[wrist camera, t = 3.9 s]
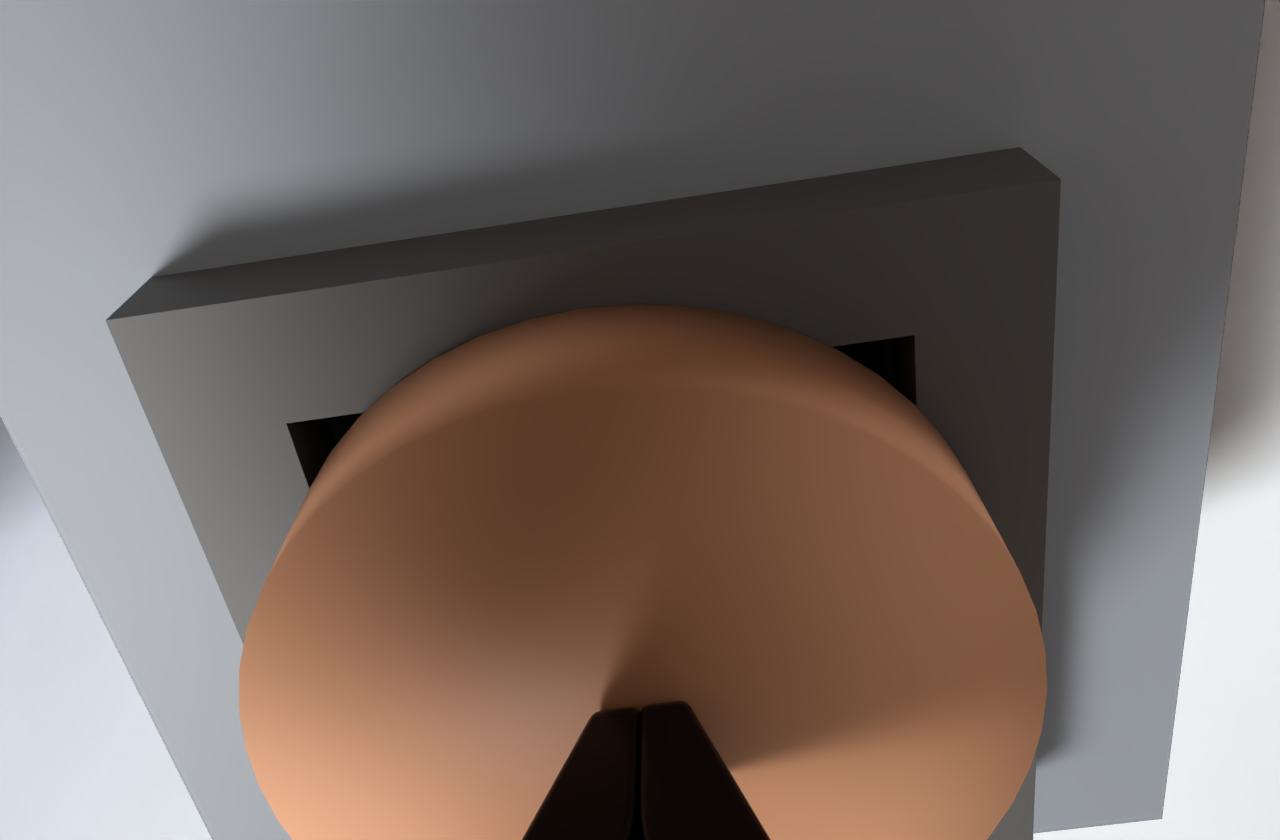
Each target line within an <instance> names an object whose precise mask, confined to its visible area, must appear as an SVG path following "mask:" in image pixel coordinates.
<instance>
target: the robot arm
mask: <svg viewBox="0 0 1280 840" xmlns="http://www.w3.org/2000/svg"><path fill="white" fill-rule="evenodd" d="M522 840H771V839H770V838H769V836H768V834H767V833H766V831H765V829H764V828H763V826H762V824H761V823H760V821H759V819H758V818H757V816H756V814H755V813H754V811H753V809H752V808H751V806H750V804H749V803H748V801H747V799H746V798H745V796H744V794H743V793H742V791H741V789H740V788H739V786H738V784H737V783H736V781H735V779H734V778H733V776H732V774H731V773H730V771H729V769H728V768H727V766H726V764H725V763H724V761H723V759H722V758H721V756H720V754H719V753H718V751H717V749H716V748H715V746H714V744H713V743H712V741H711V739H710V738H709V736H708V734H707V733H706V731H705V729H704V728H703V726H702V724H701V723H700V721H699V719H698V718H697V716H696V714H695V713H694V711H693V709H692V708H691V706H690V705H689V704H688V703H687V702H685V701H674V702H666V703H658V704H649V705H646V706H645V707H644V708H643V710H642V712H640V711H639V710H638V709H637V708H635V707H625V708H617V709H609V710H601V711H597V712H595V713H594V714H593V715H592V716H591V717H590V719H589V720H588V722H587V724H586V726H585V728H584V729H583V731H582V733H581V735H580V736H579V738H578V740H577V742H576V744H575V745H574V747H573V749H572V751H571V753H570V754H569V756H568V758H567V760H566V761H565V763H564V765H563V767H562V769H561V770H560V772H559V774H558V776H557V778H556V779H555V781H554V783H553V785H552V786H551V788H550V790H549V792H548V794H547V795H546V797H545V799H544V801H543V803H542V804H541V806H540V808H539V810H538V811H537V813H536V815H535V817H534V819H533V820H532V822H531V824H530V826H529V828H528V829H527V831H526V833H525V835H524V836H523V838H522Z"/></svg>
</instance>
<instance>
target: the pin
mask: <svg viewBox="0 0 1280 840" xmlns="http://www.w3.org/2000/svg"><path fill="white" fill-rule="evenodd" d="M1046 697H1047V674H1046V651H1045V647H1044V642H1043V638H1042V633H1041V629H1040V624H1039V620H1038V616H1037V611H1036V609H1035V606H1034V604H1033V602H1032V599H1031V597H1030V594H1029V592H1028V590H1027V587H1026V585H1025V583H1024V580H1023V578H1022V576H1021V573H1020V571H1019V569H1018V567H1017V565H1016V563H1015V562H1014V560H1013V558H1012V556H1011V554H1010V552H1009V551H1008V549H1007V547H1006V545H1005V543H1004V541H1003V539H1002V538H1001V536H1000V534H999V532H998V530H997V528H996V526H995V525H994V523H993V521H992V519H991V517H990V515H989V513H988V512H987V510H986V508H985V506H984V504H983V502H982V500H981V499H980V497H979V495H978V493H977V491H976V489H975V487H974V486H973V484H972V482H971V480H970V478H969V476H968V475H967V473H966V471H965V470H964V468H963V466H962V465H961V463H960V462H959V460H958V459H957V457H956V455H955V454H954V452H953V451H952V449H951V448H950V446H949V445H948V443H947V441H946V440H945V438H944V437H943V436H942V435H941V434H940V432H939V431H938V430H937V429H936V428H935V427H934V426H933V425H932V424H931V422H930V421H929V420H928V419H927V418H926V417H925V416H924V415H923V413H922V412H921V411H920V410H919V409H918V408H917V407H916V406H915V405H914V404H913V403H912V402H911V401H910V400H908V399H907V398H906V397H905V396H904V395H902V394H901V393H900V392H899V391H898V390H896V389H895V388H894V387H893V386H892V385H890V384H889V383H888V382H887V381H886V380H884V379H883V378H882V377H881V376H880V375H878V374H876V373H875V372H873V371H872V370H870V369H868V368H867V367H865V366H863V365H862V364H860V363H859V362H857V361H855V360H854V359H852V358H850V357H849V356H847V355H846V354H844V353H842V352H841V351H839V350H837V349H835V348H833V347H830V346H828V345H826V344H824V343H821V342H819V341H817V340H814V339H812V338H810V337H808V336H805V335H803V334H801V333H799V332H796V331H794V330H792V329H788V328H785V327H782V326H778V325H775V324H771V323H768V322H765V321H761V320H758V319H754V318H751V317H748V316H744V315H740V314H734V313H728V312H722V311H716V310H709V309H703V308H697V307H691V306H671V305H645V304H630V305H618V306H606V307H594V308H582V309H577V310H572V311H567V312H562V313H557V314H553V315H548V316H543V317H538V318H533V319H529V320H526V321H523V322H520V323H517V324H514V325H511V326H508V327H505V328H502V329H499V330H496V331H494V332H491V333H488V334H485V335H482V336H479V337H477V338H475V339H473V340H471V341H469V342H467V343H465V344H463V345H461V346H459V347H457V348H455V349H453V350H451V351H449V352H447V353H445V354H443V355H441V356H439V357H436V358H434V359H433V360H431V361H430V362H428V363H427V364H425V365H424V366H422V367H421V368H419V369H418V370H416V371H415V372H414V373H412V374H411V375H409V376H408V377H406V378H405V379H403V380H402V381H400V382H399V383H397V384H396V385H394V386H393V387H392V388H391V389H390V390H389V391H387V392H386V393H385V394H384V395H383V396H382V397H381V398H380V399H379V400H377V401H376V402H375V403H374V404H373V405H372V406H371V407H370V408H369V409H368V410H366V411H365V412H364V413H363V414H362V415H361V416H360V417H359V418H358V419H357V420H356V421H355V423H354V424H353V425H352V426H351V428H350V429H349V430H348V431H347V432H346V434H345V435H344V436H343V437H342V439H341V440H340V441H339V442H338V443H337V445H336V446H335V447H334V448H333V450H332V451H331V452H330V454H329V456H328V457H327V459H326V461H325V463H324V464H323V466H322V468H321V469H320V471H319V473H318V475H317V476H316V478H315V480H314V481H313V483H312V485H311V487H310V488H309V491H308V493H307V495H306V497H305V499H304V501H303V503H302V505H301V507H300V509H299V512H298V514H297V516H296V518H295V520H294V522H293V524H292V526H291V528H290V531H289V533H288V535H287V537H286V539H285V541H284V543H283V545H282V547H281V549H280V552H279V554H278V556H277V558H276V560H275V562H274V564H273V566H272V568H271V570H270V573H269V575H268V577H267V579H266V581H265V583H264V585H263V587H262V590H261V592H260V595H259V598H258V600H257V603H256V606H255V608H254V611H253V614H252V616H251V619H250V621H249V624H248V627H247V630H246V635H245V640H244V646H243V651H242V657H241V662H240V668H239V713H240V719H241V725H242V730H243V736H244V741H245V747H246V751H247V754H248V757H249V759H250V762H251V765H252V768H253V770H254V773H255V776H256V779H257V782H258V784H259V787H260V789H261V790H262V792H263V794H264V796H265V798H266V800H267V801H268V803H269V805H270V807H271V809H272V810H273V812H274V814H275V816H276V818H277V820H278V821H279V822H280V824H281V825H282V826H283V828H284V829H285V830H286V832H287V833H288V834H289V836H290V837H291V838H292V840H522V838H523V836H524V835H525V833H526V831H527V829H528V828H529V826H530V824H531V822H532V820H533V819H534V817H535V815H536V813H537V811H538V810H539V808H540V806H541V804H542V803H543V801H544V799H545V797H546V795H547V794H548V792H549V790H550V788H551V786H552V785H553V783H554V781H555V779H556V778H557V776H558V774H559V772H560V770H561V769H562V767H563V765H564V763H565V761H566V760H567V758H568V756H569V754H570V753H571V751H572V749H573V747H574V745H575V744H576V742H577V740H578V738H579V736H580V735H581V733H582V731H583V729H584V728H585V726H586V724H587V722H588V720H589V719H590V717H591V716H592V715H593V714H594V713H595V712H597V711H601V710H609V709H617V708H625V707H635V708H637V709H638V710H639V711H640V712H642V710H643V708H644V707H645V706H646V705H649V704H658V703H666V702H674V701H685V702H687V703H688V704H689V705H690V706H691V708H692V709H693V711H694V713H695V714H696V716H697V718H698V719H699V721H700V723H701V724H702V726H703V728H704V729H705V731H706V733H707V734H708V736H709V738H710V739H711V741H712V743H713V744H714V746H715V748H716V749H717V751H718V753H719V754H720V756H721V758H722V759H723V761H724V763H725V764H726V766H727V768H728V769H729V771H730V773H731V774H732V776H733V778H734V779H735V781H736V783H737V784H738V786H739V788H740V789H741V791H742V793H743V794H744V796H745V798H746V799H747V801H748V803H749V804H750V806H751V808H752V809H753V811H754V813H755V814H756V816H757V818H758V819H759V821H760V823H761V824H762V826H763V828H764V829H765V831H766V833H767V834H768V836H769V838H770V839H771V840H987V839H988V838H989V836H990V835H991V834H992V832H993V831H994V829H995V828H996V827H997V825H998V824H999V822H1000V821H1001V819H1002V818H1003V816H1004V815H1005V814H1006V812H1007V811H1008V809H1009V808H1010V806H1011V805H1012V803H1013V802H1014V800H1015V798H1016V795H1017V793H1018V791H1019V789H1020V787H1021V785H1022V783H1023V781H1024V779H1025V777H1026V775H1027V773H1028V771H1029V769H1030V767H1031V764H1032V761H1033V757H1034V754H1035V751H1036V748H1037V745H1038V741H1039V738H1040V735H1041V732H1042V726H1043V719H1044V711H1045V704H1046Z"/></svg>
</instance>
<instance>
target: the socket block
mask: <svg viewBox="0 0 1280 840" xmlns="http://www.w3.org/2000/svg"><path fill="white" fill-rule="evenodd" d="M1264 6H1265V0H0V417H1V419H2V421H3V423H4V425H5V427H6V429H7V431H8V433H9V435H10V437H11V439H12V441H13V443H14V445H15V447H16V449H17V451H18V453H19V455H20V457H21V459H22V461H23V463H24V465H25V467H26V469H27V471H28V473H29V475H30V477H31V479H32V481H33V483H34V485H35V486H36V488H37V490H38V492H39V494H40V496H41V498H42V500H43V502H44V504H45V506H46V508H47V510H48V512H49V514H50V516H51V518H52V520H53V522H54V524H55V526H56V528H57V530H58V532H59V534H60V536H61V538H62V540H63V542H64V544H65V546H66V548H67V550H68V552H69V554H70V556H71V558H72V560H73V562H74V564H75V566H76V568H77V570H78V572H79V574H80V576H81V578H82V580H83V582H84V584H85V586H86V588H87V590H88V592H89V594H90V596H91V598H92V600H93V602H94V604H95V606H96V608H97V610H98V612H99V614H100V616H101V618H102V620H103V622H104V624H105V626H106V628H107V630H108V632H109V634H110V636H111V638H112V640H113V642H114V644H115V646H116V648H117V650H118V652H119V654H120V656H121V658H122V660H123V662H124V664H125V666H126V668H127V670H128V672H129V674H130V676H131V678H132V680H133V682H134V684H135V686H136V688H137V690H138V692H139V694H140V696H141V698H142V700H143V702H144V704H145V706H146V708H147V710H148V712H149V714H150V716H151V718H152V720H153V722H154V724H155V726H156V728H157V730H158V732H159V734H160V736H161V738H162V740H163V742H164V744H165V746H166V748H167V750H168V752H169V754H170V756H171V758H172V760H173V762H174V764H175V766H176V768H177V770H178V772H179V774H180V776H181V778H182V780H183V782H184V784H185V786H186V788H187V790H188V792H189V794H190V796H191V798H192V800H193V802H194V804H195V806H196V808H197V810H198V812H199V814H200V816H201V818H202V820H203V822H204V824H205V826H206V828H207V830H208V832H209V834H210V836H211V838H212V840H292V838H291V837H290V836H289V834H288V833H287V832H286V830H285V829H284V828H283V826H282V825H281V824H280V822H279V821H278V820H277V818H276V816H275V814H274V812H273V810H272V809H271V807H270V805H269V803H268V801H267V800H266V798H265V796H264V794H263V792H262V790H261V789H260V787H259V784H258V782H257V779H256V776H255V773H254V770H253V768H252V765H251V762H250V759H249V757H248V754H247V751H246V747H245V741H244V736H243V730H242V725H241V719H240V713H239V668H240V662H241V657H242V651H243V646H244V640H245V635H246V630H247V627H248V624H249V621H250V619H251V616H252V614H253V611H254V608H255V606H256V603H257V600H258V598H259V595H260V592H261V590H262V587H263V585H264V583H265V581H266V579H267V577H268V575H269V573H270V570H271V568H272V566H273V564H274V562H275V560H276V558H277V556H278V554H279V552H280V549H281V547H282V545H283V543H284V541H285V539H286V537H287V535H288V533H289V531H290V528H291V526H292V524H293V522H294V520H295V518H296V516H297V514H298V512H299V509H300V507H301V505H302V503H303V501H304V499H305V497H306V495H307V493H308V491H309V488H310V487H311V485H312V483H313V481H314V480H315V478H316V476H317V475H318V473H319V471H320V469H321V468H322V466H323V464H324V463H325V461H326V459H327V457H328V456H329V454H330V452H331V451H332V450H333V448H334V447H335V446H336V445H337V443H338V442H339V441H340V440H341V439H342V437H343V436H344V435H345V434H346V432H347V431H348V430H349V429H350V428H351V426H352V425H353V424H354V423H355V421H356V420H357V419H358V418H359V417H360V416H361V415H362V414H363V413H364V412H365V411H366V410H368V409H369V408H370V407H371V406H372V405H373V404H374V403H375V402H376V401H377V400H379V399H380V398H381V397H382V396H383V395H384V394H385V393H386V392H387V391H389V390H390V389H391V388H392V387H393V386H394V385H396V384H397V383H399V382H400V381H402V380H403V379H405V378H406V377H408V376H409V375H411V374H412V373H414V372H415V371H416V370H418V369H419V368H421V367H422V366H424V365H425V364H427V363H428V362H430V361H431V360H433V359H434V358H436V357H439V356H441V355H443V354H445V353H447V352H449V351H451V350H453V349H455V348H457V347H459V346H461V345H463V344H465V343H467V342H469V341H471V340H473V339H475V338H477V337H479V336H482V335H485V334H488V333H491V332H494V331H496V330H499V329H502V328H505V327H508V326H511V325H514V324H517V323H520V322H523V321H526V320H529V319H533V318H538V317H543V316H548V315H553V314H557V313H562V312H567V311H572V310H577V309H582V308H594V307H606V306H618V305H630V304H645V305H671V306H691V307H697V308H703V309H709V310H716V311H722V312H728V313H734V314H740V315H744V316H748V317H751V318H754V319H758V320H761V321H765V322H768V323H771V324H775V325H778V326H782V327H785V328H788V329H792V330H794V331H796V332H799V333H801V334H803V335H805V336H808V337H810V338H812V339H814V340H817V341H819V342H821V343H824V344H826V345H828V346H830V347H833V348H835V349H837V350H839V351H841V352H842V353H844V354H846V355H847V356H849V357H850V358H852V359H854V360H855V361H857V362H859V363H860V364H862V365H863V366H865V367H867V368H868V369H870V370H872V371H873V372H875V373H876V374H878V375H880V376H881V377H882V378H883V379H884V380H886V381H887V382H888V383H889V384H890V385H892V386H893V387H894V388H895V389H896V390H898V391H899V392H900V393H901V394H902V395H904V396H905V397H906V398H907V399H908V400H910V401H911V402H912V403H913V404H914V405H915V406H916V407H917V408H918V409H919V410H920V411H921V412H922V413H923V415H924V416H925V417H926V418H927V419H928V420H929V421H930V422H931V424H932V425H933V426H934V427H935V428H936V429H937V430H938V431H939V432H940V434H941V435H942V436H943V437H944V438H945V440H946V441H947V443H948V445H949V446H950V448H951V449H952V451H953V452H954V454H955V455H956V457H957V459H958V460H959V462H960V463H961V465H962V466H963V468H964V470H965V471H966V473H967V475H968V476H969V478H970V480H971V482H972V484H973V486H974V487H975V489H976V491H977V493H978V495H979V497H980V499H981V500H982V502H983V504H984V506H985V508H986V510H987V512H988V513H989V515H990V517H991V519H992V521H993V523H994V525H995V526H996V528H997V530H998V532H999V534H1000V536H1001V538H1002V539H1003V541H1004V543H1005V545H1006V547H1007V549H1008V551H1009V552H1010V554H1011V556H1012V558H1013V560H1014V562H1015V563H1016V565H1017V567H1018V569H1019V571H1020V573H1021V576H1022V578H1023V580H1024V583H1025V585H1026V587H1027V590H1028V592H1029V594H1030V597H1031V599H1032V602H1033V604H1034V606H1035V609H1036V611H1037V616H1038V620H1039V624H1040V629H1041V633H1042V638H1043V642H1044V647H1045V651H1046V674H1047V697H1046V704H1045V711H1044V719H1043V726H1042V732H1041V735H1040V738H1039V741H1038V745H1037V748H1036V751H1035V754H1034V757H1033V761H1032V764H1031V767H1030V769H1029V771H1028V773H1027V775H1026V777H1025V779H1024V781H1023V783H1022V785H1021V787H1020V789H1019V791H1018V793H1017V795H1016V798H1015V800H1014V802H1013V803H1012V805H1011V806H1010V808H1009V809H1008V811H1007V812H1006V814H1005V815H1004V816H1003V818H1002V819H1001V821H1000V822H999V824H998V825H997V827H996V828H995V829H994V831H993V832H992V834H991V835H990V836H989V838H988V839H987V840H1033V833H1040V832H1049V831H1058V830H1067V829H1076V828H1085V827H1093V826H1102V825H1111V824H1120V823H1129V822H1138V821H1146V820H1155V819H1162V814H1163V806H1164V798H1165V790H1166V783H1167V775H1168V767H1169V759H1170V751H1171V743H1172V735H1173V727H1174V719H1175V711H1176V703H1177V695H1178V687H1179V680H1180V672H1181V664H1182V656H1183V648H1184V640H1185V632H1186V624H1187V616H1188V608H1189V600H1190V592H1191V584H1192V577H1193V569H1194V561H1195V553H1196V545H1197V537H1198V529H1199V521H1200V513H1201V505H1202V497H1203V489H1204V481H1205V474H1206V466H1207V458H1208V450H1209V442H1210V434H1211V426H1212V418H1213V410H1214V402H1215V394H1216V386H1217V378H1218V371H1219V363H1220V355H1221V347H1222V339H1223V331H1224V323H1225V315H1226V307H1227V299H1228V291H1229V283H1230V276H1231V268H1232V260H1233V252H1234V244H1235V236H1236V228H1237V220H1238V212H1239V204H1240V196H1241V188H1242V180H1243V173H1244V165H1245V157H1246V149H1247V141H1248V133H1249V125H1250V117H1251V109H1252V101H1253V93H1254V85H1255V77H1256V70H1257V62H1258V54H1259V46H1260V38H1261V30H1262V22H1263V14H1264Z"/></svg>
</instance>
